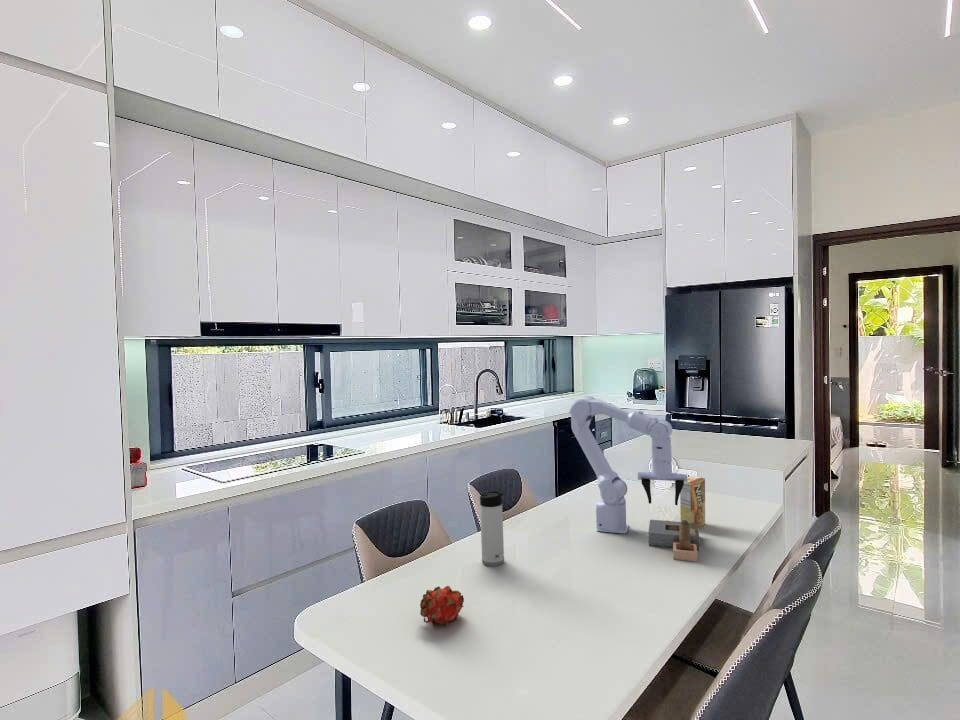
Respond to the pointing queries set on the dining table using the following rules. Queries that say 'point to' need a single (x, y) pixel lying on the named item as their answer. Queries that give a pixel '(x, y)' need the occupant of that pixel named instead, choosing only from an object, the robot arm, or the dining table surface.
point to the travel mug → (492, 528)
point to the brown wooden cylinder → (684, 535)
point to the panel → (670, 533)
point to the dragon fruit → (441, 605)
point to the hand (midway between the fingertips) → (663, 503)
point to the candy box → (693, 501)
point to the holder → (684, 552)
